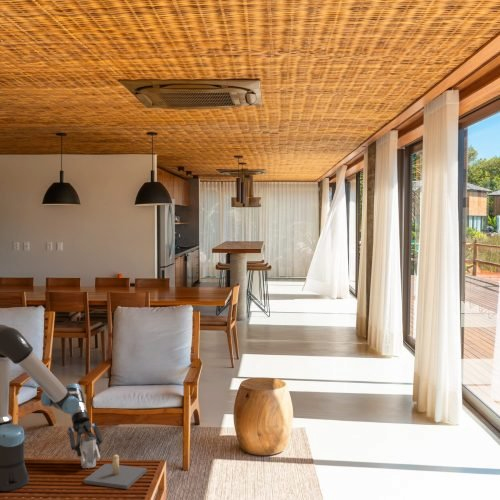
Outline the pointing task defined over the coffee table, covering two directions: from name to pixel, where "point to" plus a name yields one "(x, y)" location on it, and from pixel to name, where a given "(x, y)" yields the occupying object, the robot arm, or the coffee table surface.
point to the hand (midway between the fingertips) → (91, 460)
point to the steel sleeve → (89, 452)
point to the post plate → (115, 475)
